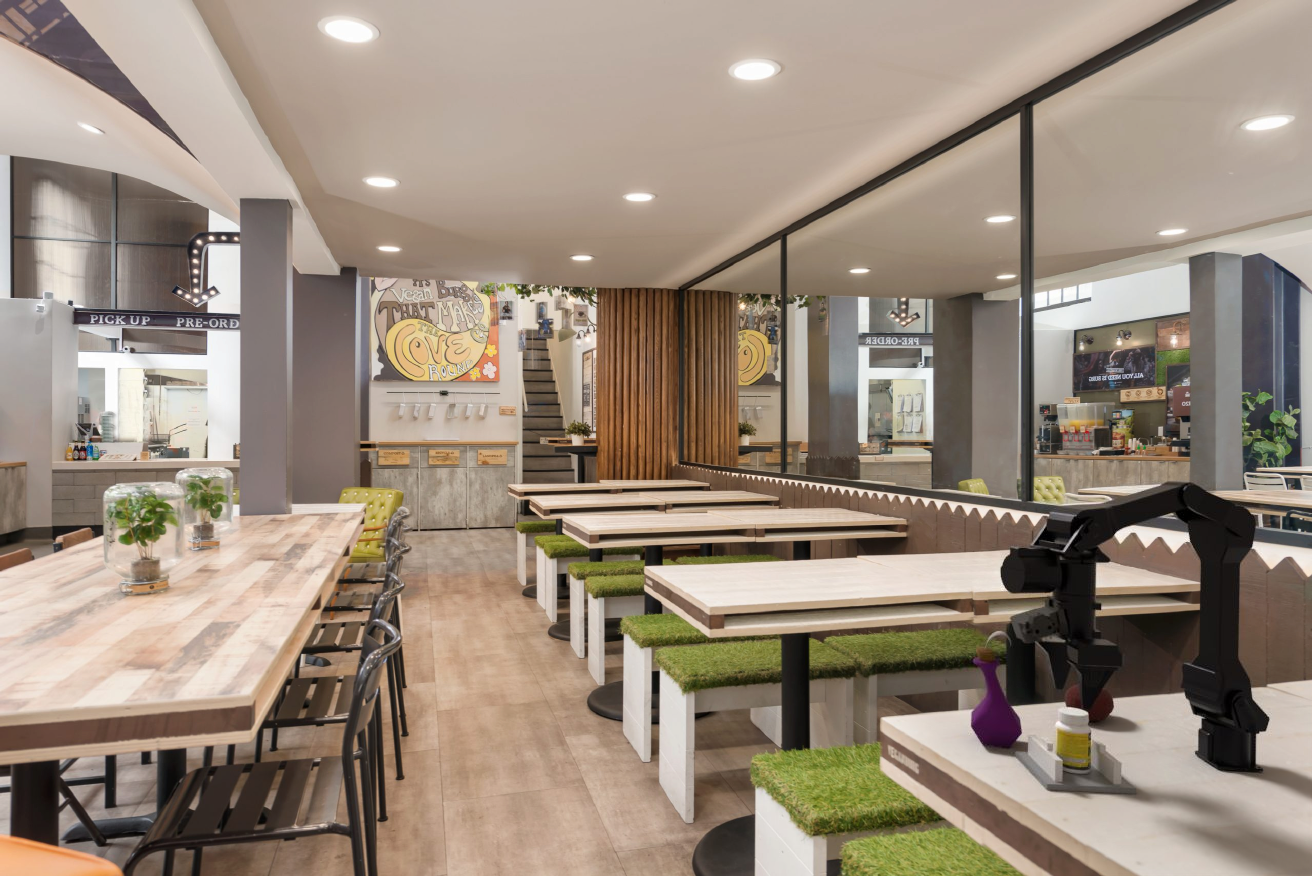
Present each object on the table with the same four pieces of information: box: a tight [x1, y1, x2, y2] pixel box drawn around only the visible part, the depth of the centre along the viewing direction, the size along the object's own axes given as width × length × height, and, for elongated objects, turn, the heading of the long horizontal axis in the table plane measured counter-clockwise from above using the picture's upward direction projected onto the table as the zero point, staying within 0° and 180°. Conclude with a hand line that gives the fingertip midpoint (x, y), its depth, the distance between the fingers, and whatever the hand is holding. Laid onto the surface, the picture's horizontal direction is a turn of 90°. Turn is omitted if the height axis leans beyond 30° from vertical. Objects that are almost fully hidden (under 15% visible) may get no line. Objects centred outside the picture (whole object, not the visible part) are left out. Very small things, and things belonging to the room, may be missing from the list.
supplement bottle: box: [1054, 706, 1092, 774], centre depth 119 cm, size 5×5×8 cm
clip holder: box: [1015, 734, 1137, 795], centre depth 119 cm, size 12×12×5 cm
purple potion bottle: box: [970, 630, 1023, 749], centre depth 131 cm, size 8×8×18 cm
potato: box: [1064, 684, 1115, 722], centre depth 144 cm, size 7×10×6 cm
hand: (1072, 698), depth 119 cm, fingers open, 9 cm apart
